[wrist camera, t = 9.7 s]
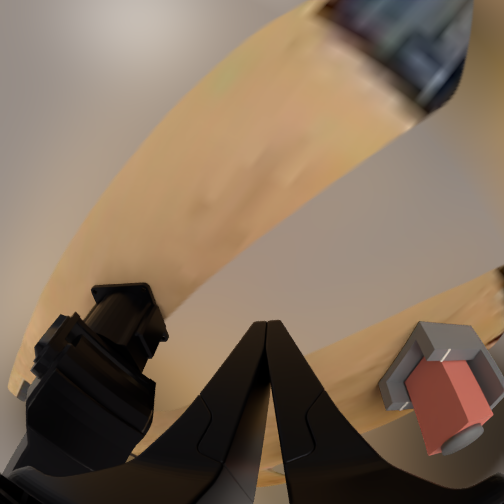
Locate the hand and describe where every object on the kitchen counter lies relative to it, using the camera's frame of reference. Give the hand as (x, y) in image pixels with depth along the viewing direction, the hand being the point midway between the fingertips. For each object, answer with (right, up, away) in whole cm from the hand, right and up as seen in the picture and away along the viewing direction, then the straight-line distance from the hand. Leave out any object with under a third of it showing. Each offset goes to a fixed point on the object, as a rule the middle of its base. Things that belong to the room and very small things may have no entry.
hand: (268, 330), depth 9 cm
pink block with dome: (+19, -10, +15) cm, 26 cm away
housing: (+19, -9, +17) cm, 27 cm away
